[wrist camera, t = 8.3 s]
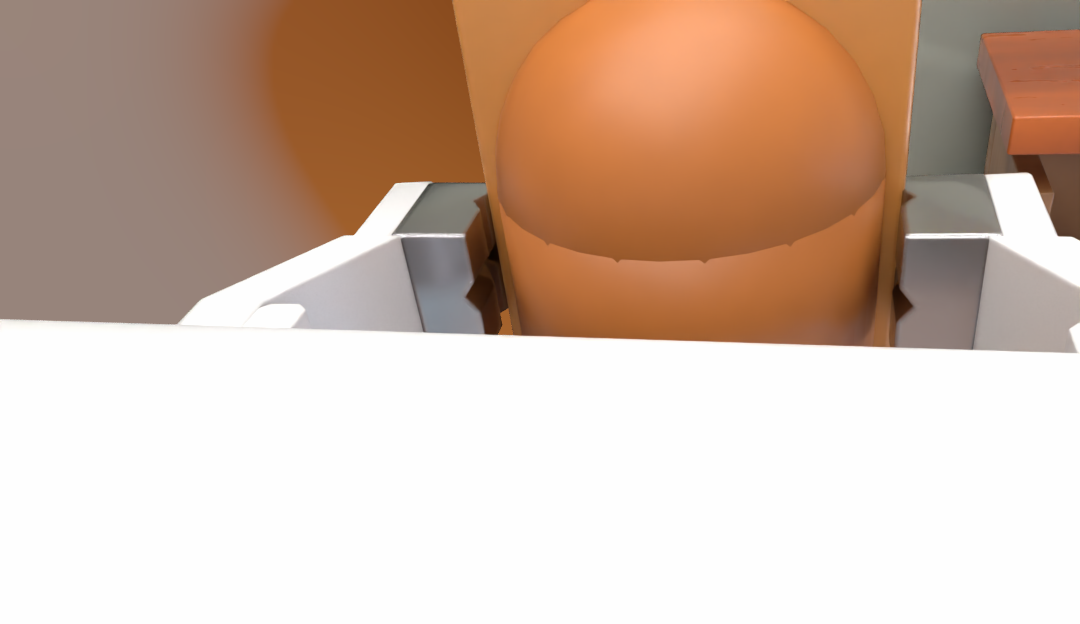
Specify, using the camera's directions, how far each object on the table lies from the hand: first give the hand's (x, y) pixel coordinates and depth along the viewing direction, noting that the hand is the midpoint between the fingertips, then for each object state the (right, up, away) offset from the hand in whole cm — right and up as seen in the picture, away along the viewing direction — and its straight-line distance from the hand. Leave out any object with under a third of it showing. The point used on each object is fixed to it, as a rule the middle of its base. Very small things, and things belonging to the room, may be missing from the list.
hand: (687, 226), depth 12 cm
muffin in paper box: (+2, +4, +5) cm, 7 cm away
